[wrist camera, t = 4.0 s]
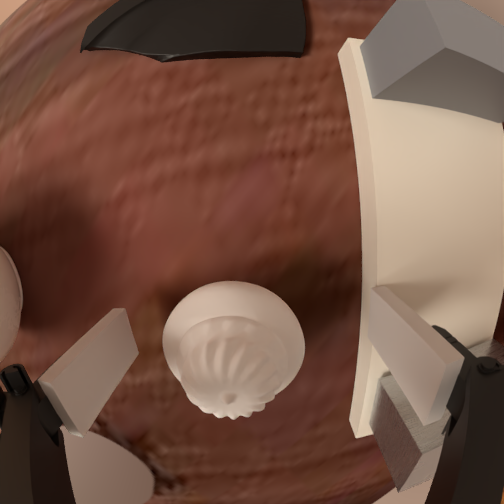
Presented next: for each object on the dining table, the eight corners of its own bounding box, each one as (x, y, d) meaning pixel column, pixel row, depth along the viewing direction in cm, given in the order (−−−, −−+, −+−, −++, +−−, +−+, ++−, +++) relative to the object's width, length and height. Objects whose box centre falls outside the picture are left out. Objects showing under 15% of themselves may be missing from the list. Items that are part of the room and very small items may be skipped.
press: (460, 382, 16) (507, 436, 8) (349, 420, 17) (379, 503, 9) (473, 82, 11) (548, 56, 3) (337, 54, 12) (395, -33, 4)
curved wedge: (110, -7, 10) (101, -17, 9) (300, -24, 10) (303, -38, 9) (82, 82, 12) (69, 75, 11) (304, 66, 12) (309, 53, 11)
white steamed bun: (303, 268, 14) (344, 333, 7) (283, 365, 15) (298, 457, 9) (184, 253, 14) (128, 306, 7) (180, 353, 15) (145, 438, 8)
